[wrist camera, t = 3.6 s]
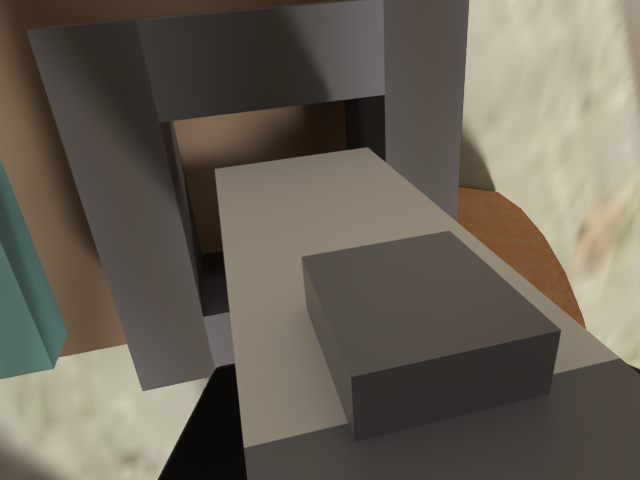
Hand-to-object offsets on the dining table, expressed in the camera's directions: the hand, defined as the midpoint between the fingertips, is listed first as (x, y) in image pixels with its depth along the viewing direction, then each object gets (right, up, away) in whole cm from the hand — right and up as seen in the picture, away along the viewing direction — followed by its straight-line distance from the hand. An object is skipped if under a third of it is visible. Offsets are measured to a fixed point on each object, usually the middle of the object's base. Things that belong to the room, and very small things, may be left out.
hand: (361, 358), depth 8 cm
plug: (-1, +2, +4) cm, 5 cm away
